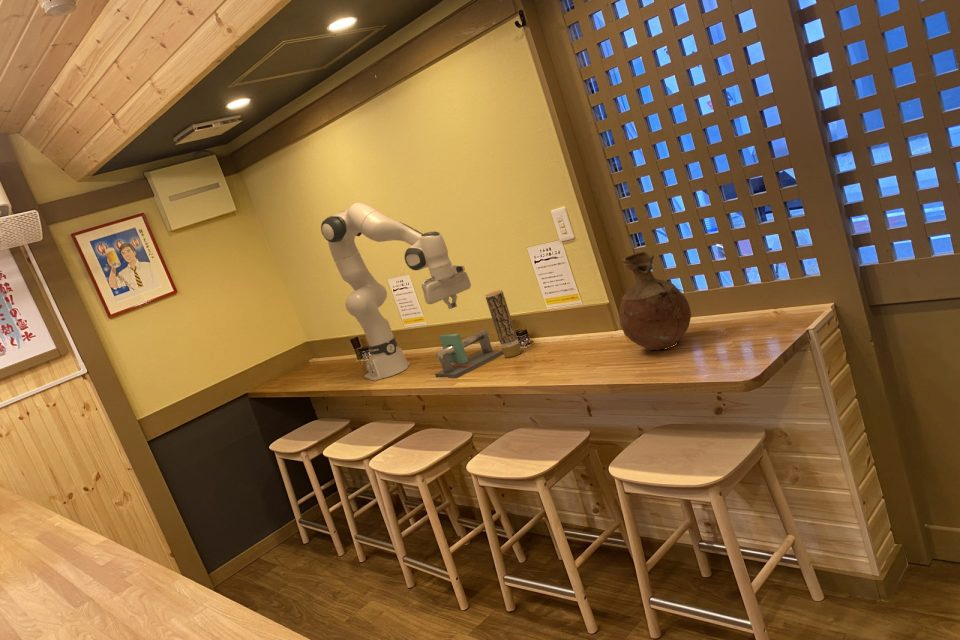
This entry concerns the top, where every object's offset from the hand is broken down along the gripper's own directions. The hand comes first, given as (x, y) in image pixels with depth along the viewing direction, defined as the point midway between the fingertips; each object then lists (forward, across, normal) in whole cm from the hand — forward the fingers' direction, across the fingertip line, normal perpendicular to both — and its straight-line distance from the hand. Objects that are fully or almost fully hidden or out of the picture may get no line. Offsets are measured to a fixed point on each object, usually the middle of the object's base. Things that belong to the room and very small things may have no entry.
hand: (453, 307), depth 277 cm
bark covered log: (+23, +10, -14) cm, 29 cm away
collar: (+20, -6, -1) cm, 21 cm away
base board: (+24, -1, -1) cm, 24 cm away
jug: (+22, +17, -81) cm, 85 cm away
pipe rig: (+22, -1, -1) cm, 22 cm away
